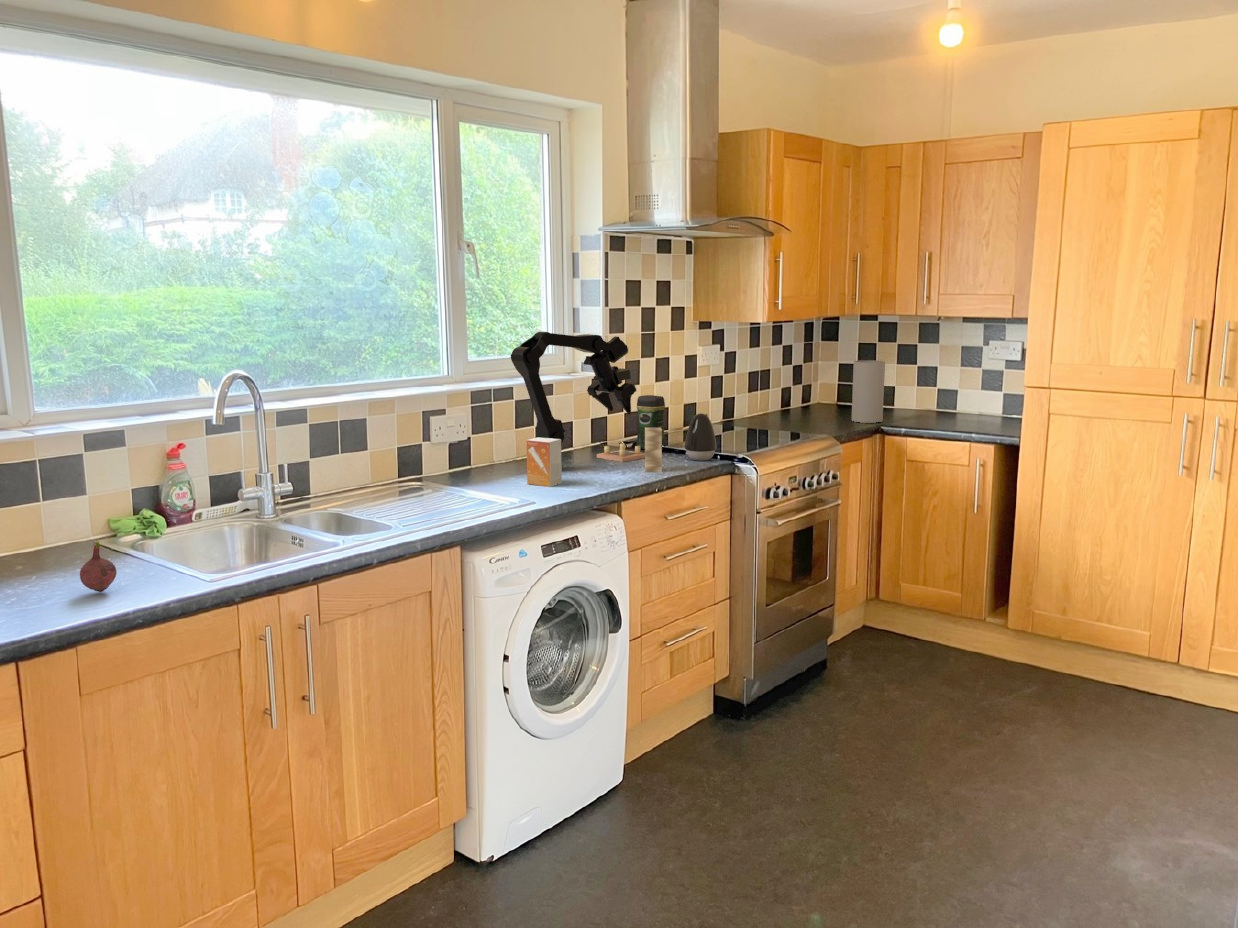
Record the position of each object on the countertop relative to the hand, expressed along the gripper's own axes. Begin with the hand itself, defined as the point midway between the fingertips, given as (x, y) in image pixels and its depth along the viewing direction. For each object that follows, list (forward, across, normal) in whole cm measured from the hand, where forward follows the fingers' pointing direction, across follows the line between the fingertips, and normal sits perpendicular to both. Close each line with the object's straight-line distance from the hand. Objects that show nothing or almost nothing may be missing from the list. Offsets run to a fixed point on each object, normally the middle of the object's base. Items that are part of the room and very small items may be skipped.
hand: (620, 411), depth 315 cm
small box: (-5, -16, +44) cm, 47 cm away
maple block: (+12, -21, +11) cm, 27 cm away
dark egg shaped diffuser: (+24, -16, -11) cm, 31 cm away
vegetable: (-60, -47, +152) cm, 170 cm away
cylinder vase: (+76, +3, -112) cm, 135 cm away
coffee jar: (+25, +12, -13) cm, 30 cm away
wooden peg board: (+16, +3, +4) cm, 16 cm away
